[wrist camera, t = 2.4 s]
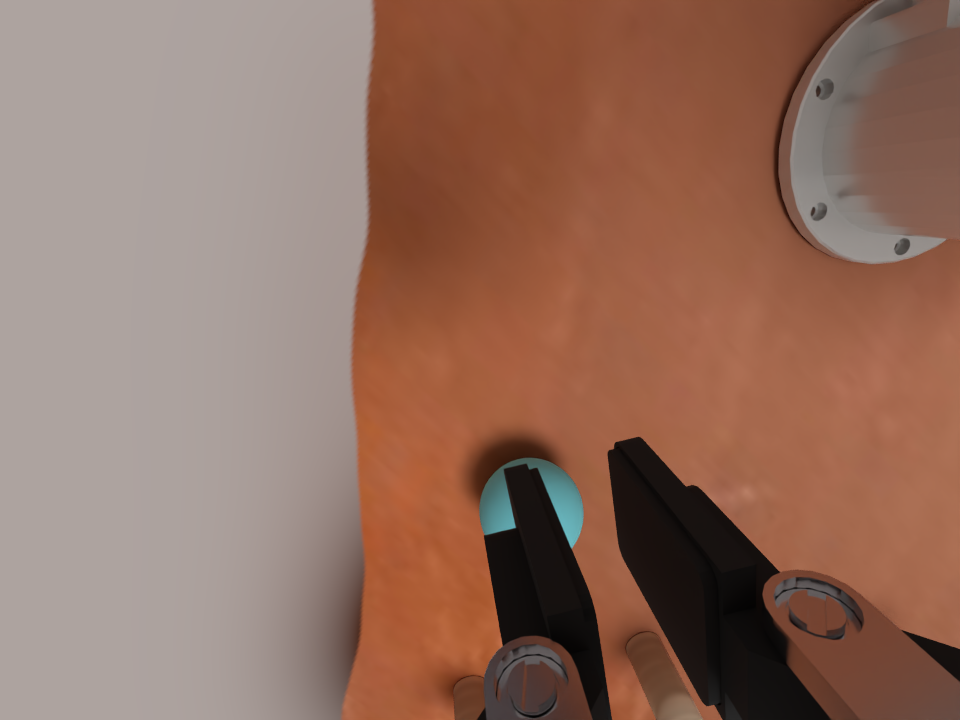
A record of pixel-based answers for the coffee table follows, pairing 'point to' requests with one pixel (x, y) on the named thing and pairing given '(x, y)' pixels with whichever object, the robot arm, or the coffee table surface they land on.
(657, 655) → the post right
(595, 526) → the coffee table surface
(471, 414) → the coffee table surface
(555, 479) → the ball
